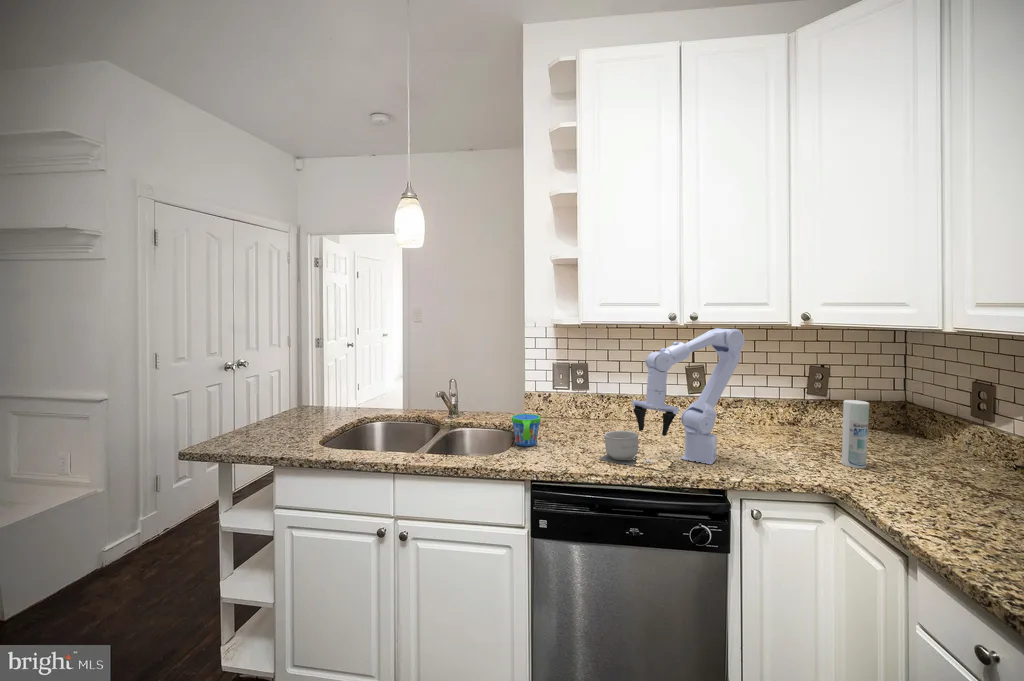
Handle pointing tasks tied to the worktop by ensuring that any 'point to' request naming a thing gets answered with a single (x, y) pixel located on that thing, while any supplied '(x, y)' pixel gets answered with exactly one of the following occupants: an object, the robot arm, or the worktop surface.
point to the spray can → (855, 433)
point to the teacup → (621, 444)
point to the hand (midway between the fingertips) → (652, 432)
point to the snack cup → (526, 429)
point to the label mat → (627, 462)
